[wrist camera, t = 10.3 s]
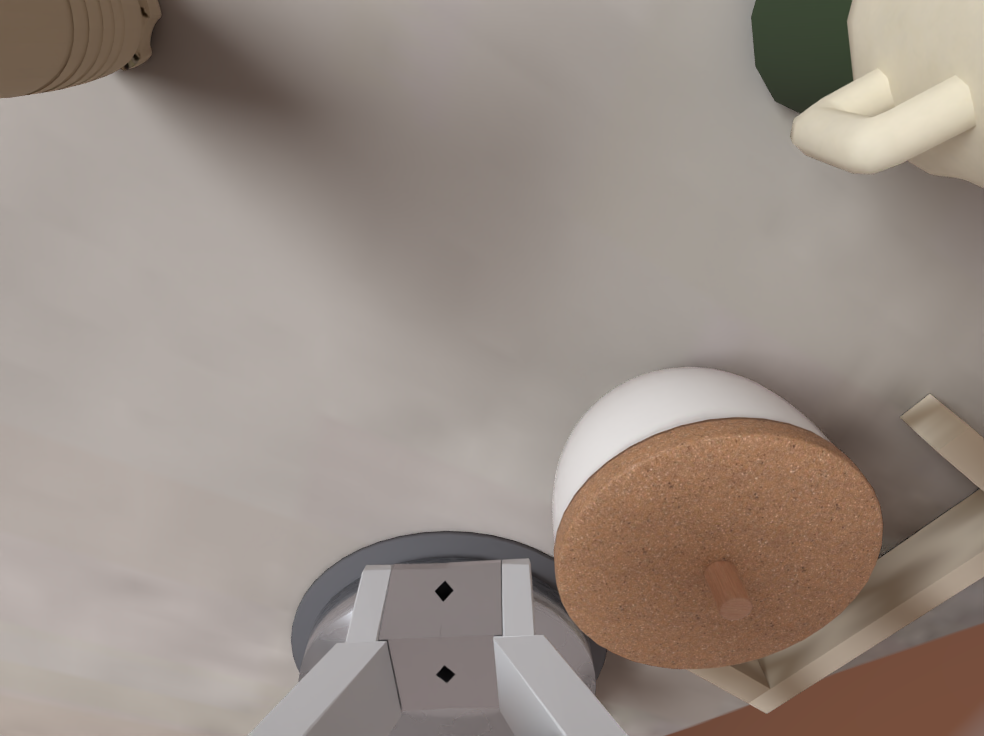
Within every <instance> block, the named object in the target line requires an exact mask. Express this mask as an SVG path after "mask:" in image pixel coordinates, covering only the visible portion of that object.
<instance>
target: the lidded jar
mask: <svg viewBox="0 0 984 736" xmlns="http://www.w3.org/2000/svg"><path fill="white" fill-rule="evenodd" d="M552 517H553V532H554V544H555V546H554V564H555V577H556V584H557V588H558V591H559V595H560V598H561V602H562V604H563V605H564V607H565V609H566V611H567V613H568V615H569V617H570V618H571V619H572V620H573V621H574V623H575V624H576V625H577V626H578V627H579V629H580V630H581V631H582V632H584V633H585V634H586V635H587V636H588V637H590V638H591V639H592V640H593V641H594V642H596V643H597V644H598V645H600V646H602V647H604V648H605V649H607V650H609V651H611V652H613V653H614V654H617V655H619V656H622V657H624V658H626V659H629V660H631V661H635V662H639V663H643V664H647V665H651V666H657V667H664V668H671V669H707V668H719V667H725V666H730V665H736V664H741V663H745V662H749V661H752V660H756V659H760V658H763V657H766V656H768V655H771V654H774V653H776V652H779V651H781V650H784V649H786V648H788V647H790V646H792V645H794V644H796V643H798V642H801V641H803V640H805V639H806V638H808V637H809V636H811V635H812V634H814V633H815V632H817V631H818V630H820V629H822V628H823V627H824V626H826V625H827V624H828V623H829V622H831V621H832V620H833V619H835V618H836V617H837V616H838V615H840V614H841V613H842V612H843V611H844V610H845V609H846V607H847V606H848V605H849V604H850V603H851V602H852V601H853V600H854V599H855V598H856V596H857V595H858V594H859V592H860V591H861V590H862V588H863V587H864V586H865V584H866V583H867V582H868V580H869V577H870V575H871V573H872V571H873V569H874V567H875V565H876V562H877V559H878V556H879V553H880V549H881V546H882V533H883V520H882V513H881V507H880V504H879V501H878V499H877V497H876V494H875V492H874V490H873V487H872V486H871V485H870V483H869V482H868V481H867V479H866V478H865V477H864V475H863V474H862V473H861V471H860V470H859V469H858V468H857V466H856V465H855V464H854V463H853V462H852V461H851V460H850V459H849V458H848V457H847V456H846V455H845V454H844V453H843V452H841V451H840V450H839V449H838V448H837V447H836V446H834V445H833V444H832V443H831V442H830V441H829V440H828V438H827V437H826V436H825V435H824V434H823V433H822V432H821V431H820V430H819V429H818V428H817V427H816V426H815V425H814V424H813V423H812V422H811V421H810V420H809V419H808V418H806V417H805V416H804V415H803V414H802V413H801V412H800V411H798V410H797V409H796V408H795V407H794V406H792V405H791V404H790V403H789V402H787V401H786V400H785V399H784V398H782V397H780V396H779V395H777V394H775V393H774V392H772V391H770V390H769V389H767V388H765V387H763V386H762V385H760V384H758V383H757V382H755V381H753V380H750V379H747V378H745V377H742V376H739V375H736V374H733V373H730V372H726V371H722V370H717V369H712V368H705V367H679V368H667V369H662V370H657V371H653V372H648V373H645V374H643V375H640V376H637V377H634V378H632V379H630V380H628V381H626V382H624V383H622V384H620V385H618V386H616V387H615V388H614V389H612V390H611V391H609V392H608V393H606V394H605V395H604V396H602V397H601V398H600V399H599V400H598V401H597V402H596V403H595V404H593V405H592V406H591V407H590V408H589V409H588V410H587V411H586V412H585V414H584V415H583V416H582V417H581V419H580V420H579V421H578V422H577V424H576V425H575V427H574V429H573V431H572V432H571V434H570V436H569V438H568V440H567V442H566V444H565V446H564V448H563V450H562V453H561V456H560V459H559V462H558V466H557V471H556V476H555V483H554V489H553V502H552Z"/></svg>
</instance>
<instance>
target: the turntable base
mask: <svg viewBox="0 0 984 736" xmlns="http://www.w3.org/2000/svg"><path fill="white" fill-rule="evenodd" d="M452 557H453V558H467V559H476V560H482V561H486V560H501V562H502V560H506V559H526V558H529V560H530V562H531V575H532V576H533V577H535V578H537V579H539V580H541V581H543V582H544V583H546V584H547V585H549V586H550V587H552V588H553V589H554V590H556V591H557V592H559V591H558V588H557V584H556V577H555V564H554V559H553V558H552V557H550V556H548V555H546V554H544V553H542V552H540V551H538V550H536V549H534V548H532V547H529V546H526V545H523V544H521V543H518V542H515V541H512V540H508V539H504V538H500V537H496V536H492V535H485V534H478V533H470V532H450V531H443V532H425V533H417V534H411V535H405V536H399V537H395V538H392V539H388V540H384V541H380V542H377V543H375V544H372V545H370V546H367V547H365V548H362V549H359V550H358V551H356V552H354V553H352V554H350V555H348V556H346V557H344V558H343V559H341V560H340V561H338V562H337V563H335V564H334V565H333V566H331V567H330V568H328V569H327V570H326V571H325V572H324V573H323V574H322V575H321V576H320V577H319V578H318V579H317V580H315V581H314V583H313V584H312V585H311V587H310V588H309V589H308V591H307V592H306V593H305V595H304V597H303V599H302V601H301V603H300V605H299V607H298V609H297V612H296V615H295V619H294V622H293V626H292V636H291V644H292V652H293V657H294V660H295V663H296V666H297V668H298V670H299V672H300V668H301V664H302V661H303V657H304V654H305V650H306V647H307V643H308V640H309V636H310V633H311V630H312V627H313V625H314V622H315V620H316V618H317V616H318V615H319V613H320V612H321V610H322V608H323V607H324V606H325V605H326V604H327V603H328V602H329V600H330V599H331V598H332V597H333V596H334V595H336V594H337V593H338V592H339V591H340V590H342V589H343V588H344V587H346V586H347V585H349V584H350V583H352V582H354V581H355V580H357V579H358V578H360V577H361V575H362V572H363V570H364V568H365V567H366V565H394V564H398V563H403V562H407V561H412V560H420V559H428V558H452ZM588 638H589V643H590V649H591V654H592V660H593V666H594V671H595V680H596V679H597V678H598V676H599V674H600V671H601V669H602V667H603V665H604V660H605V656H606V652H607V649H605V648H604V647H602V646H600V645H598V644H597V643H596V642H594V641H593V640H592V639H591V638H590V637H588Z"/></svg>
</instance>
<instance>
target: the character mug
mask: <svg viewBox="0 0 984 736" xmlns="http://www.w3.org/2000/svg"><path fill="white" fill-rule="evenodd" d="M751 20H752V32H753V43H754V54H755V66H756V68H757V70H758V72H759V73H760V75H761V77H762V79H763V81H764V82H765V84H766V86H767V88H768V89H769V91H770V93H771V95H772V97H773V98H774V100H775V101H776V102H778V103H780V104H782V105H784V106H786V107H788V108H790V109H793V110H795V111H797V112H799V113H801V114H800V115H798V116H797V117H796V118H794V120H793V125H792V130H791V134H790V137H791V140H792V143H793V144H794V145H795V146H796V147H797V148H798V149H799V150H801V151H802V152H803V153H804V154H805V155H806V156H809V157H811V158H814V159H816V160H819V161H822V162H824V163H827V164H829V165H832V166H835V167H837V168H840V169H843V170H845V171H848V172H851V173H853V174H875V173H878V172H880V171H883V170H886V169H889V168H891V167H894V166H897V165H899V164H902V163H904V162H906V161H908V162H910V163H912V164H913V165H915V166H917V167H918V168H920V169H922V170H924V171H925V172H927V173H929V174H930V175H936V176H943V177H950V178H959V179H962V180H966V181H968V182H971V183H973V184H975V185H977V186H980V187H982V188H984V0H756V2H755V6H754V9H753V13H752V16H751Z"/></svg>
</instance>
